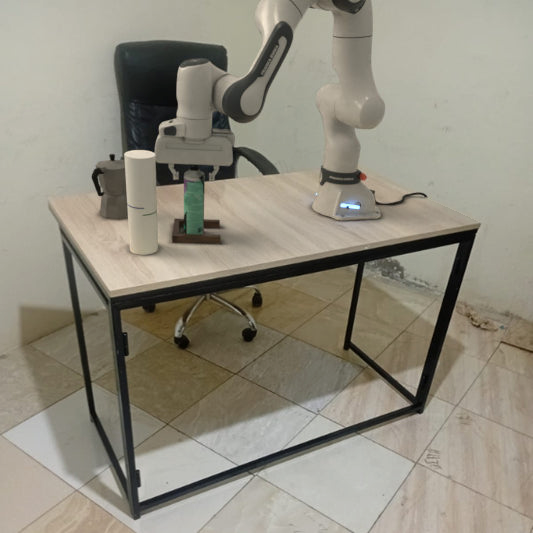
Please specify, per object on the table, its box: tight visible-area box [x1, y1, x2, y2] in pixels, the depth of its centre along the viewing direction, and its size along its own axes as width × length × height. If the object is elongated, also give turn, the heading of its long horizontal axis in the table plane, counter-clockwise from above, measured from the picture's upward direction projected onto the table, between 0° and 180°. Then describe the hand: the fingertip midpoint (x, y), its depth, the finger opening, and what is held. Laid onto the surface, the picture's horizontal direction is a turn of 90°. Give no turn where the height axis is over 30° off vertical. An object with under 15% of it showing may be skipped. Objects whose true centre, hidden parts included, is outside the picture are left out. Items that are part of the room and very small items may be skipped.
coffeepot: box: [91, 153, 128, 220], centre depth 145 cm, size 15×9×18 cm, turn 158°
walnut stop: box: [171, 217, 222, 245], centre depth 141 cm, size 13×12×2 cm
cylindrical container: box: [123, 149, 159, 256], centre depth 125 cm, size 7×7×25 cm
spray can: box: [183, 164, 206, 234], centre depth 137 cm, size 6×6×20 cm
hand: (193, 179), depth 134 cm, fingers open, 8 cm apart
